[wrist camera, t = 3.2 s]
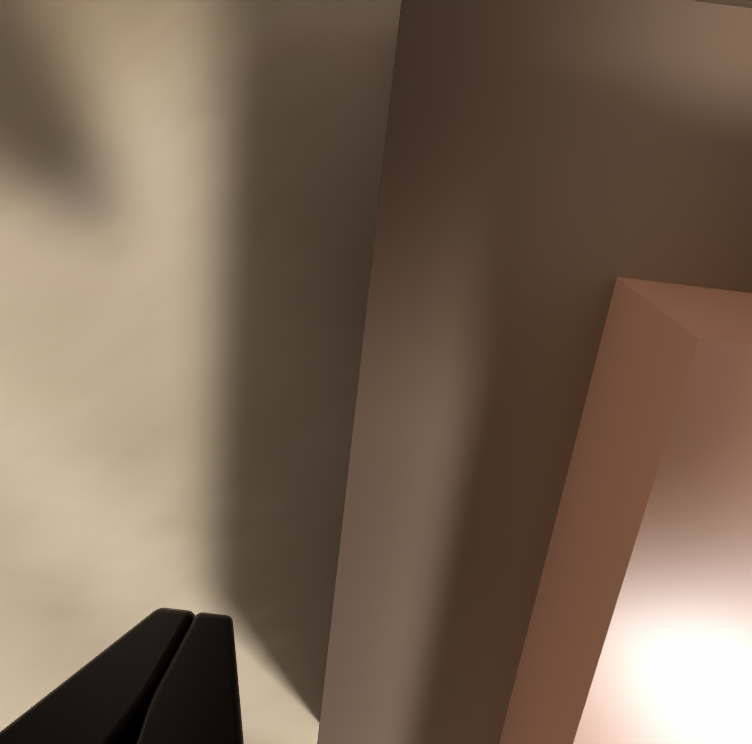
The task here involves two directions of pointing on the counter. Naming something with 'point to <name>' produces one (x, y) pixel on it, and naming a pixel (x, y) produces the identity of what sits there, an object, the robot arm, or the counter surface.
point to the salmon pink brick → (651, 537)
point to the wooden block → (512, 318)
